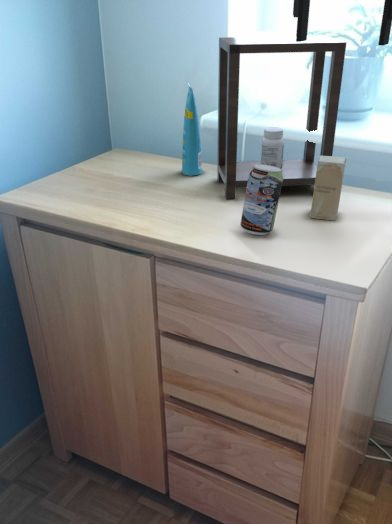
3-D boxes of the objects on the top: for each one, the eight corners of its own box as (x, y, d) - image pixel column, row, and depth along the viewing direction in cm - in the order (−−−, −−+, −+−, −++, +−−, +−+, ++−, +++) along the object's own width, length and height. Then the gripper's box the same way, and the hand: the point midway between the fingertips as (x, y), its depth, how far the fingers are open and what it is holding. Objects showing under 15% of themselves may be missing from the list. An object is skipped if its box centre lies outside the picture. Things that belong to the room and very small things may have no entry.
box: (309, 218, 109) (315, 160, 103) (312, 210, 112) (318, 154, 106) (336, 221, 107) (345, 162, 101) (339, 213, 111) (347, 156, 105)
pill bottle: (270, 165, 125) (273, 125, 120) (286, 169, 122) (289, 129, 117) (255, 169, 123) (257, 129, 118) (271, 174, 120) (274, 132, 115)
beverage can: (233, 231, 103) (235, 166, 97) (261, 222, 107) (265, 158, 100) (257, 242, 99) (261, 174, 93) (285, 231, 103) (291, 166, 96)
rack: (327, 195, 120) (346, 42, 104) (226, 200, 118) (229, 44, 102) (309, 176, 131) (324, 35, 115) (217, 180, 130) (219, 37, 113)
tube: (179, 169, 137) (177, 83, 126) (199, 168, 138) (198, 82, 127) (185, 178, 131) (183, 89, 120) (205, 176, 132) (205, 88, 121)
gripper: (267, -127, 80) (260, 41, 92) (449, -146, 69) (414, 48, 81) (289, -121, 85) (279, 37, 97) (462, -138, 74) (427, 43, 86)
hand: (340, 43), depth 89 cm, fingers open, 13 cm apart
